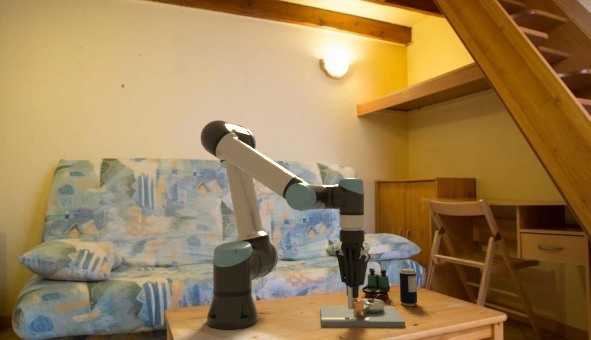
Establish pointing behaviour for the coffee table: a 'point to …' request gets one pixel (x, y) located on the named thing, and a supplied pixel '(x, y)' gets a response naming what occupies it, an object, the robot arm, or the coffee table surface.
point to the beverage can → (408, 287)
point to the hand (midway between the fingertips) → (352, 308)
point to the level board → (345, 318)
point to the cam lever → (367, 306)
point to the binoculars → (377, 285)
